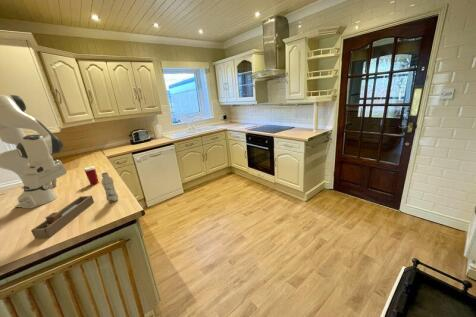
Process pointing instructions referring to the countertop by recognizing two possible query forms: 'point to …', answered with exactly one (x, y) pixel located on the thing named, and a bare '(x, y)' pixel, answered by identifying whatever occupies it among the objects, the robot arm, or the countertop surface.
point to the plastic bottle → (109, 187)
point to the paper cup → (91, 175)
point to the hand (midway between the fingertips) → (53, 188)
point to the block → (53, 217)
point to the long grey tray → (63, 217)
